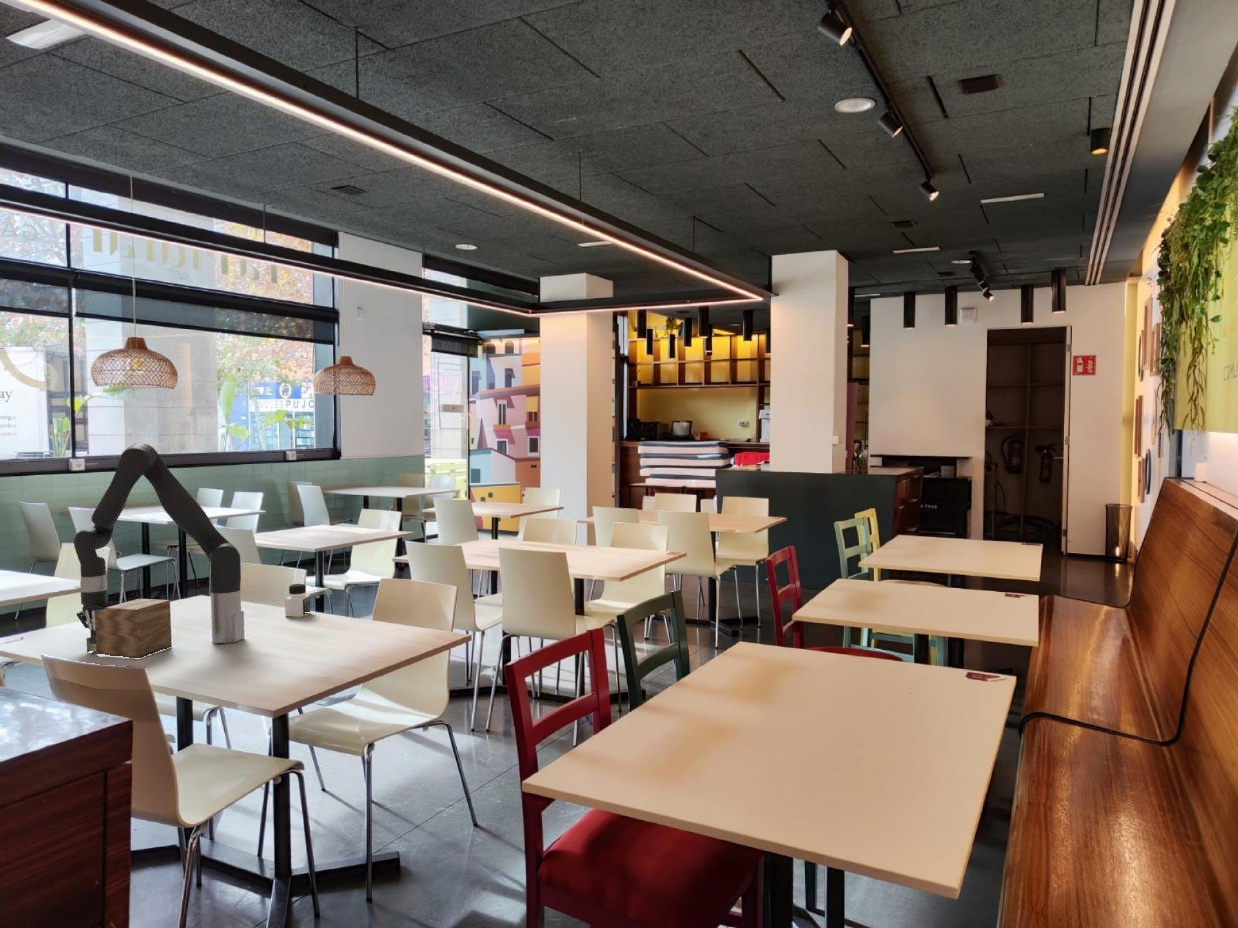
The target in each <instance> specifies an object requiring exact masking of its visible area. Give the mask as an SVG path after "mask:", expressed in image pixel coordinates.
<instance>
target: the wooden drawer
mask: <svg viewBox="0 0 1238 928" xmlns="http://www.w3.org/2000/svg"><path fill="white" fill-rule="evenodd" d="M89 651H96V636H93V637H91V636H90V637H87V638H86V653H87V652H89Z"/></svg>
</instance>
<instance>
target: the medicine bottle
mask: <svg viewBox="0 0 1238 928" xmlns="http://www.w3.org/2000/svg"><path fill="white" fill-rule="evenodd" d="M284 609H285V611H284V612H285V614H284V615H285V617H286V616H304V617H306V616H305V614H308V613H305V612H310V613H311V595H310V594H307V588H306V584H304V583H293V584H291V585H289V586H288V597H286V598H285V599H284ZM308 615H309V614H308Z"/></svg>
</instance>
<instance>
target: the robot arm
mask: <svg viewBox="0 0 1238 928" xmlns="http://www.w3.org/2000/svg"><path fill="white" fill-rule="evenodd" d="M142 476H144V478H146V480H147V481H148V482H149V483H150V485H151V486H152V487H153V489H154V491H155V493H156V495H157V498H158V500H159V502H160V505H161V507H162V508H163V510H164V512H165V513H166V514H167V515H168V516H169V517H170V519H172V521H173V522H174V523H175V524H176V526H178V527H179V528H180V529H181V530H182V531H183V532H185V533H186V535H188V536H189V537H190V538H192V539H193V540H194V541H195V542H196V543H197V544H198V546H199V548H201V550H202V551H203V553H204V554H205V556H206V557H207V559H208V560H209V562H210V563H209V566H210V585H209V586H210V606H211V607H210V609H211V610H210V611H211V612H210V613H211V639H212V640H211V641H212V644H216V643H226V644H231V643H234V644H235V643H238V642H240V641H242V640H244V639H245V637H246V636H245V614H244V613H245V612H244V610H242V600H241V581H242V576H241V575H242V572H241V571H242V570H241V569H242V567H241V562H242V561H241V553H240V552H239V550H238V549H237V547H236V546H234V544H232V543H231V542H229V540H227V538H225V537H224V536H223V535H222V534H221V533H220V532H219V531H218V530H217V529H216V527H215V526H214V524H213V523H212V521H211V520H210V518H209V516H208V515H207V513H206V512H205V511H204V509H203V508H202V506H201V505H200V504H199V502H198V501H197V500H196V499H195V498H194V497H193V496H192V495H191V493H190V492H189V491H188V490H187V489H186V488H185V487H184V486H183V484H182V483H181V482H180V481H179V479H178V478H176V477H175V475H174V474H173V473H172V472H171V471H170V469H169V468H168V466H167V465H166V463H165V462H164V460H163V458H162V457H161V456H160V454H159V453H158V452H157V450H156V449H155V448H154V447H153V446H152V445H151V444H148V443H145V442H137V443H136V442H135V443H134V444H132V445H130V446H129V447H128V448H126V449H124V451H122V453H121V455H120V458H119V461H118V464H117V467H116V470H115V473H114V475H113V477H112V480H111V482H110V485H109V486H108V487H107V489H106V491H105V492H104V494H103V495H102V497H101V499H100V501H99V502H98V504H97V506H96V508H95V509H94V511H93V513H92V515H91V518H90V519H91V522H92V523H93V527H92V528H87V529H82V530H80V531H78V532H77V533H76V535H75V537H74V540H73V546H74V550H75V553H76V556H77V559H78V562H79V565H80V584H79V585H80V603H81V605H82V610H81V611H80V612H77V613H76V617H77V618H78V619H79V621H80V622H81V624H82V625H83V627H84V628H85V629H89V631H90V637H93V636H96V632H95V610H105V608H106V607H108V606H107V603H108V601H109V597H108V596H109V595H108V590H109V589H108V578H107V568H106V567H107V566H106V560H105V558H104V557H102V556H99V555H98V554H97V550H100V549H102V548H104V547H106V546H107V545H108V544H109V543H110V541H111V539H112V537H113V532H114V528H115V524H116V522H117V521H118V519H119V517H120V515H121V514H122V512H123V510H124V508H125V507H126V503H127V501H128V497H129V495H130V493H131V491H132V490H133V488H134V487H135V485H136V483H137V482H138V481H139V479H141V477H142ZM243 638H244V639H243ZM241 639H242V640H241ZM237 641H238V642H237Z"/></svg>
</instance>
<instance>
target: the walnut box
mask: <svg viewBox="0 0 1238 928" xmlns="http://www.w3.org/2000/svg"><path fill="white" fill-rule="evenodd" d="M171 614H172V613H171V599H155V598H154V599H152V598H137V599H133V600H128V601H125V602H121V603H118V604H115V605H110V606H107V607H106V608H105V610H95V632H96V652H95V653H96V654H105V655H110V656H123V657H129V658H142V657H144V656H147V655H149V654H153V653H155V652H158V651H160V650H163V649H167V648H169V647H173V646H172V618H171V617H172V615H171ZM167 650H168V649H167ZM96 654H95V655H96ZM153 655H154V654H153ZM142 659H143V658H142Z"/></svg>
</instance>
